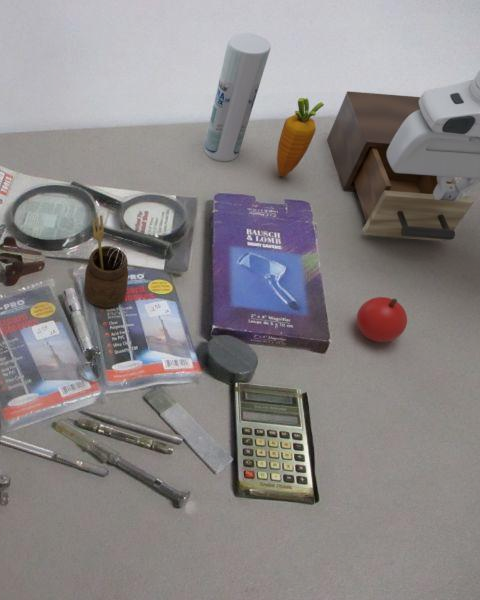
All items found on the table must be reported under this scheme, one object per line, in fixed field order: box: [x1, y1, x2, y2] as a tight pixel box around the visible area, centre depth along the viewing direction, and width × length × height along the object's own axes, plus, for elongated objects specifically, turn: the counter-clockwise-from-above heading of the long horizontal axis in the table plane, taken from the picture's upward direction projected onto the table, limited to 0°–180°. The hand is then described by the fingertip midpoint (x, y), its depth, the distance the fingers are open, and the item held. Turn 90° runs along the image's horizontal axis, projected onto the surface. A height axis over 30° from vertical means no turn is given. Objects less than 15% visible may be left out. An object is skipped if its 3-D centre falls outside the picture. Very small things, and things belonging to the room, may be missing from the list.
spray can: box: [203, 32, 272, 162], centre depth 99 cm, size 6×6×20 cm
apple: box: [356, 296, 408, 343], centre depth 78 cm, size 6×6×7 cm
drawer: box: [353, 147, 474, 242], centre depth 92 cm, size 18×13×8 cm
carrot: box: [276, 97, 325, 178], centre depth 97 cm, size 5×5×15 cm
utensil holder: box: [83, 214, 129, 309], centre depth 80 cm, size 6×6×12 cm
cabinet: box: [326, 90, 421, 192], centre depth 102 cm, size 15×14×10 cm
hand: (444, 197), depth 83 cm, fingers closed
